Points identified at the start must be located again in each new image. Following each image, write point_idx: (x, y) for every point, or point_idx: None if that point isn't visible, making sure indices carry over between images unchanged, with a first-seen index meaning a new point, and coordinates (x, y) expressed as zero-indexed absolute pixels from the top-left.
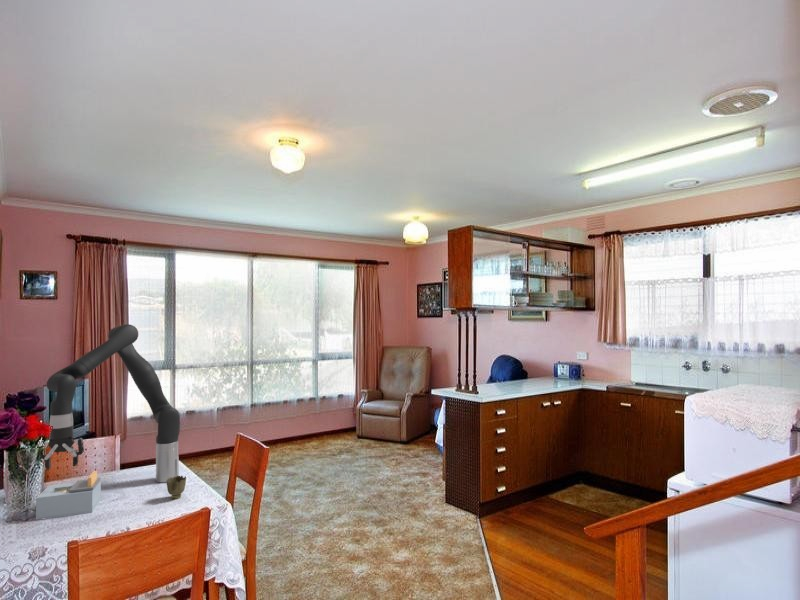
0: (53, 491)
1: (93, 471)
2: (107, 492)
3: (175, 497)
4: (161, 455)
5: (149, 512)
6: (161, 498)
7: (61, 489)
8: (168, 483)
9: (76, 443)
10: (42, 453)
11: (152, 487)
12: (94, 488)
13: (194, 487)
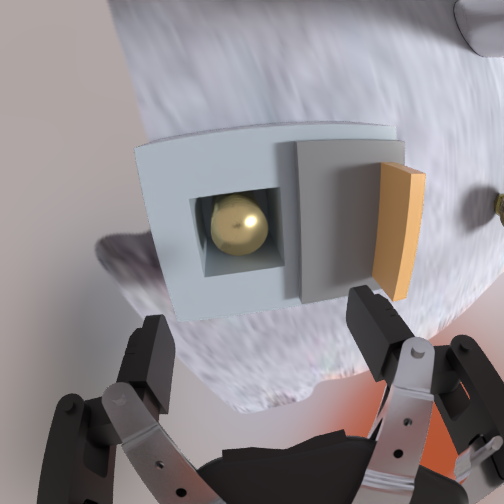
0: (192, 212)
1: (411, 185)
2: (348, 42)
3: (499, 215)
4: None
5: (454, 279)
6: (482, 193)
7: (231, 210)
8: None
9: (459, 470)
10: (112, 472)
11: (463, 76)
12: None
13: None
